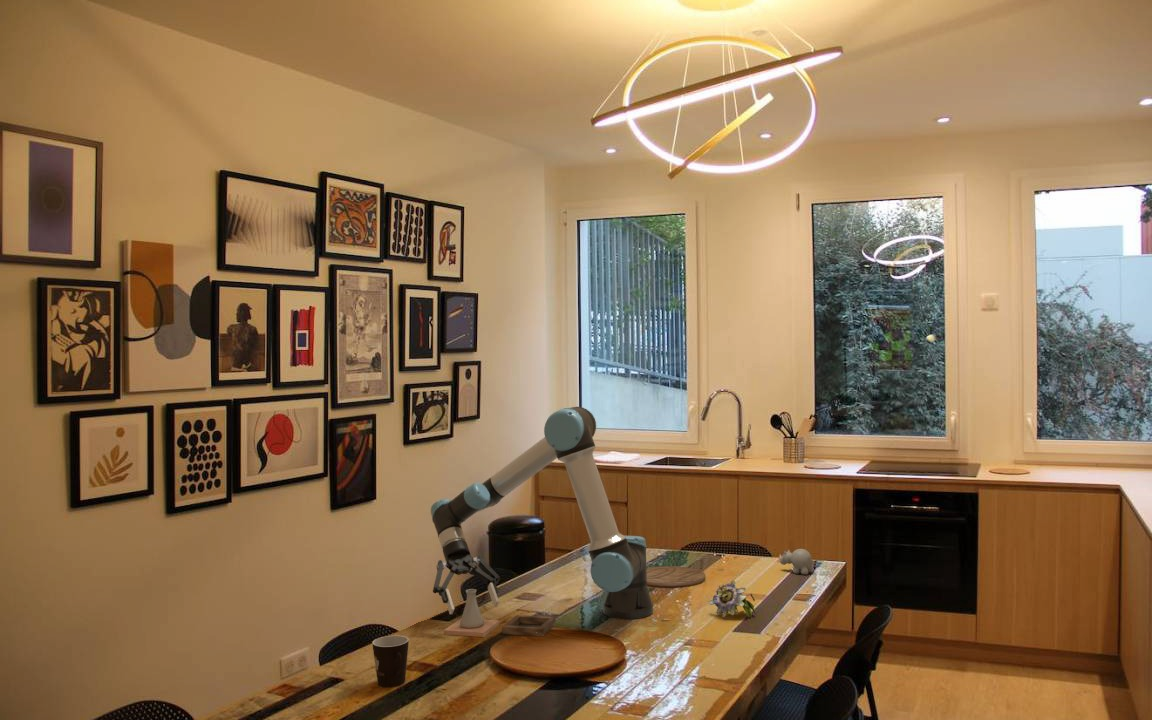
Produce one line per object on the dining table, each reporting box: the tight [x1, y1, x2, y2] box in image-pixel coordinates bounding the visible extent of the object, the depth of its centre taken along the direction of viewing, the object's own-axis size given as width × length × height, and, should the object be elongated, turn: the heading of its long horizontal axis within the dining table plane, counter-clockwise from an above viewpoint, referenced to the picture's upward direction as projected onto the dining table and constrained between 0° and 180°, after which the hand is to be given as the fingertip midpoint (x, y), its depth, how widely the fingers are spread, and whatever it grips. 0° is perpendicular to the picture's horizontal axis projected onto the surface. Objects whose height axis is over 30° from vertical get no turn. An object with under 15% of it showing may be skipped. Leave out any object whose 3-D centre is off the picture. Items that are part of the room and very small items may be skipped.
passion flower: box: [707, 579, 756, 619], centre depth 262 cm, size 11×11×12 cm
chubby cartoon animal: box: [779, 548, 814, 576], centre depth 312 cm, size 7×12×8 cm, turn 48°
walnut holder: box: [501, 614, 557, 637], centre depth 252 cm, size 12×12×2 cm
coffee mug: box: [371, 635, 410, 689], centre depth 210 cm, size 12×9×10 cm
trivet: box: [646, 565, 706, 589], centre depth 307 cm, size 25×25×2 cm
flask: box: [460, 588, 484, 628], centre depth 253 cm, size 7×7×10 cm
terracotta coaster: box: [443, 618, 500, 638], centre depth 253 cm, size 12×12×1 cm
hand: (474, 608), depth 251 cm, fingers open, 13 cm apart
